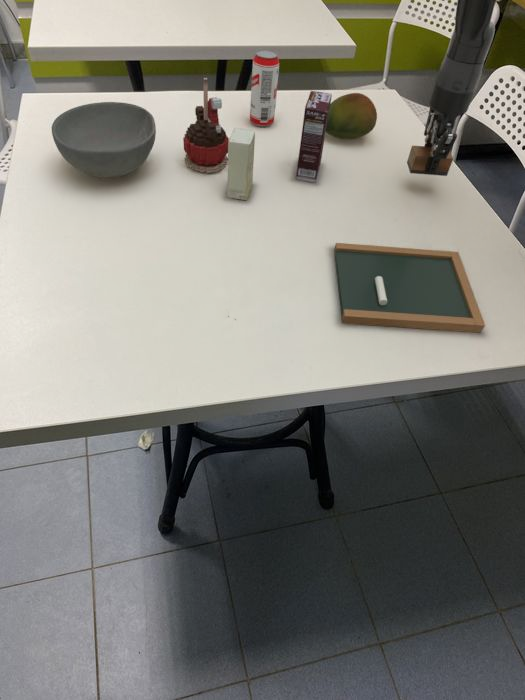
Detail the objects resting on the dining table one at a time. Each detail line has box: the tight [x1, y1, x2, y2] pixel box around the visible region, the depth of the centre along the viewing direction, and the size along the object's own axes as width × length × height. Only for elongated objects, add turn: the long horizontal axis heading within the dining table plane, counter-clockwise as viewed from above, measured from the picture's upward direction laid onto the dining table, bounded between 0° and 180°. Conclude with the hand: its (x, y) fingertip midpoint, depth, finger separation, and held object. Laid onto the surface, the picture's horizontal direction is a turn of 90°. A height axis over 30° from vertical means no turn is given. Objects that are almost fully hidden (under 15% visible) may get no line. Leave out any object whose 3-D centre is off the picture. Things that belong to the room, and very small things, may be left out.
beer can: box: [249, 48, 280, 128], centre depth 119 cm, size 6×6×16 cm
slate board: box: [333, 242, 486, 333], centre depth 88 cm, size 24×19×2 cm
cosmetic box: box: [226, 127, 256, 201], centre depth 100 cm, size 6×4×12 cm
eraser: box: [406, 145, 454, 177], centre depth 106 cm, size 8×4×4 cm, turn 89°
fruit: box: [326, 92, 378, 140], centre depth 120 cm, size 12×13×10 cm
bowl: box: [51, 101, 157, 178], centre depth 103 cm, size 20×20×10 cm
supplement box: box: [295, 90, 333, 183], centre depth 106 cm, size 9×5×16 cm, turn 168°
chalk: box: [375, 276, 387, 306], centre depth 85 cm, size 1×6×1 cm, turn 179°
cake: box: [182, 77, 230, 173], centre depth 104 cm, size 11×9×18 cm
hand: (427, 166), depth 107 cm, fingers closed on eraser, 4 cm apart
